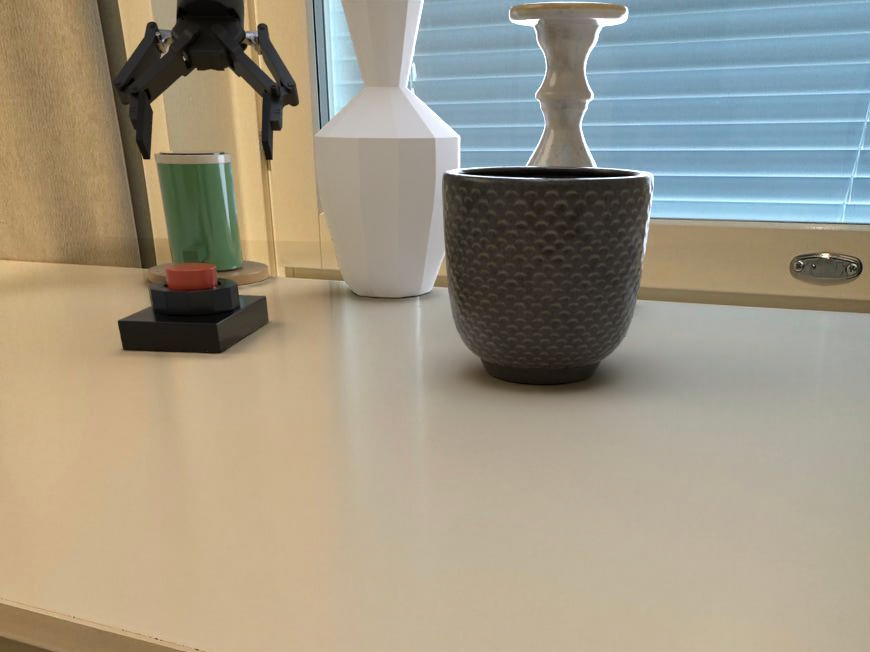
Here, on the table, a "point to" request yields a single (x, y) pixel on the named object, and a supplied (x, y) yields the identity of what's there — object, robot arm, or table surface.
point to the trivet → (223, 273)
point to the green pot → (200, 207)
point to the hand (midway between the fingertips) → (205, 150)
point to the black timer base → (193, 319)
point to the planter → (544, 265)
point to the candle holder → (565, 73)
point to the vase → (385, 161)
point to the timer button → (191, 276)
